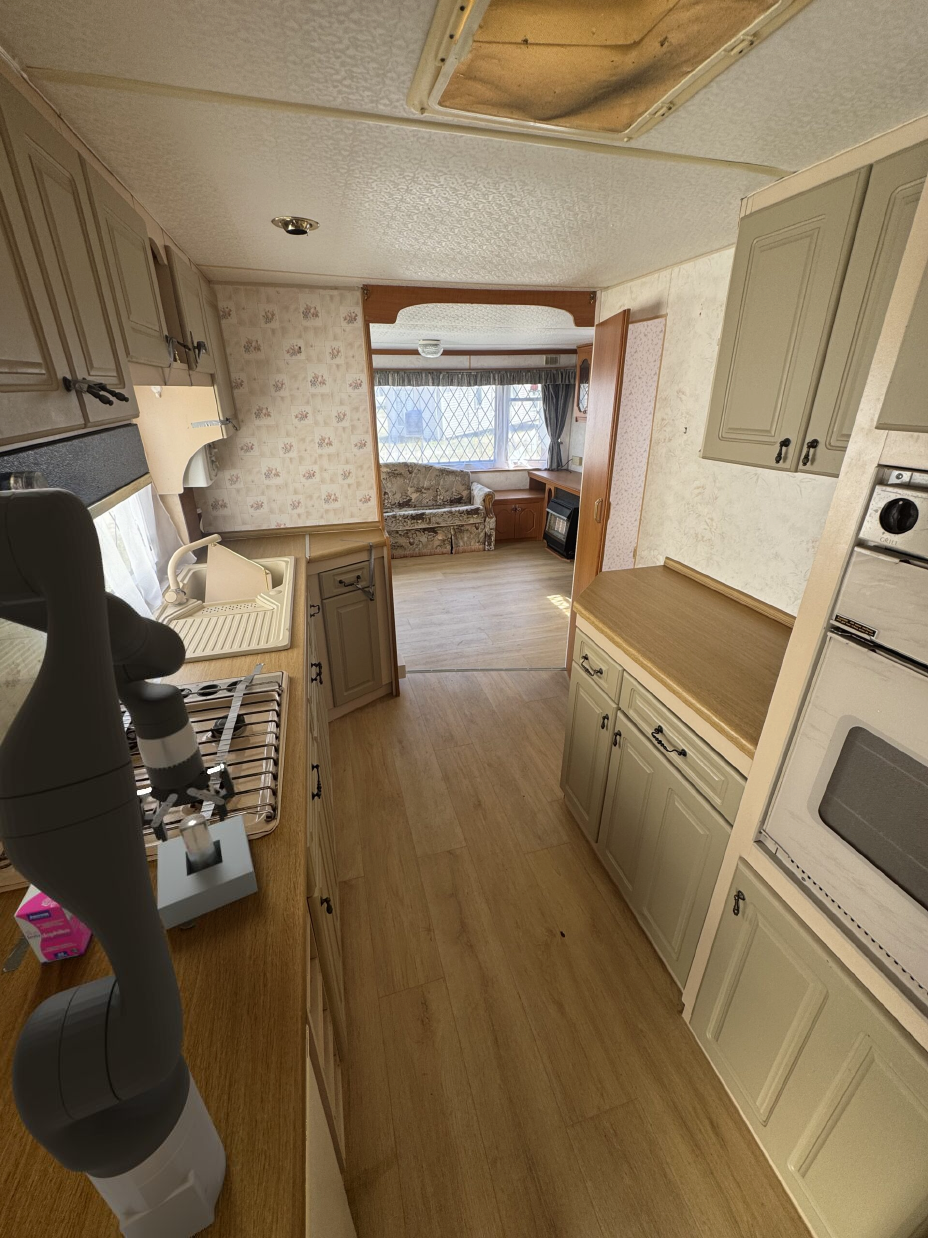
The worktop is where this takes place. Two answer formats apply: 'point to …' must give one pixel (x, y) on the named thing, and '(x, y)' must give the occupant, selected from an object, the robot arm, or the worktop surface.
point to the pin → (198, 842)
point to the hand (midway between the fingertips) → (194, 828)
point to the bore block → (204, 874)
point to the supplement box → (50, 927)
